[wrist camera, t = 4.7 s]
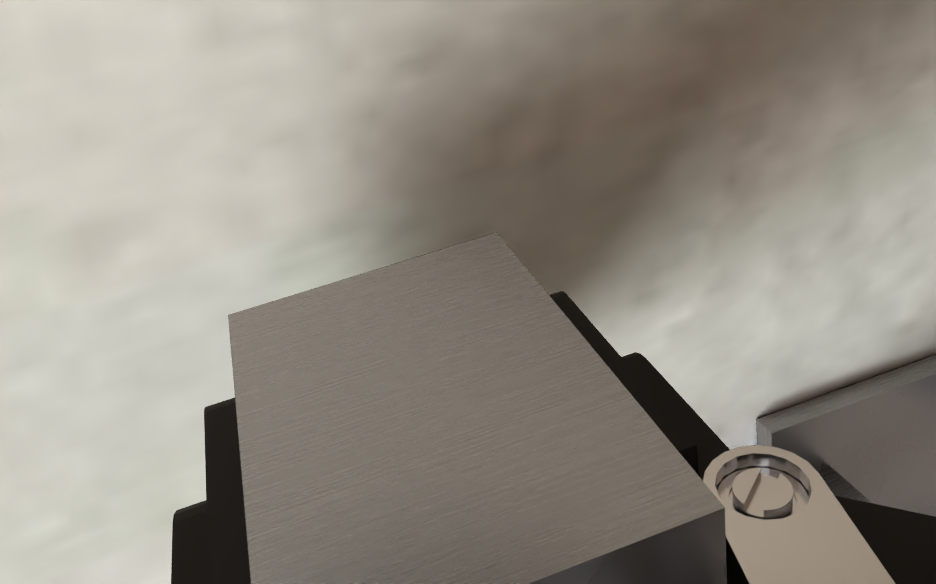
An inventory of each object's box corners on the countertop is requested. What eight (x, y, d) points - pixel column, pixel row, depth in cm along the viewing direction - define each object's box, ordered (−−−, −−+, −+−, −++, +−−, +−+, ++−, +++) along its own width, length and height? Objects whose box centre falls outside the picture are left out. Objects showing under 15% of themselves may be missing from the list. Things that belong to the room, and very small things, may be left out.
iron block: (228, 315, 11) (259, 689, 6) (497, 232, 12) (724, 507, 7) (324, 557, 14) (403, 962, 9) (541, 478, 14) (731, 811, 9)
